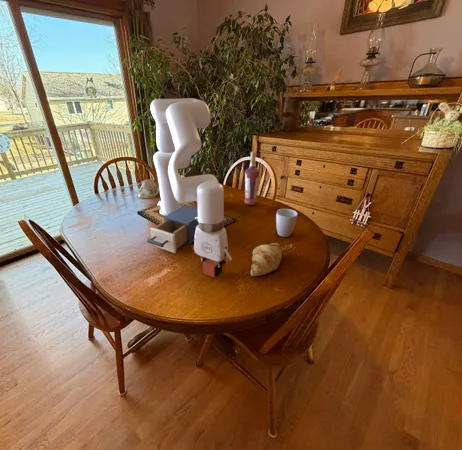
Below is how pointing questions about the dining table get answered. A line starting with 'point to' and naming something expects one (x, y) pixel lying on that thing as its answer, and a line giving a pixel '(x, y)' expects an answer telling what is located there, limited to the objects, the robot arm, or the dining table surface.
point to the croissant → (266, 258)
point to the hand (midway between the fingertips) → (211, 270)
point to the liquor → (251, 182)
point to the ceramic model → (148, 189)
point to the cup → (285, 221)
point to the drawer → (169, 235)
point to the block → (209, 267)
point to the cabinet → (185, 219)
